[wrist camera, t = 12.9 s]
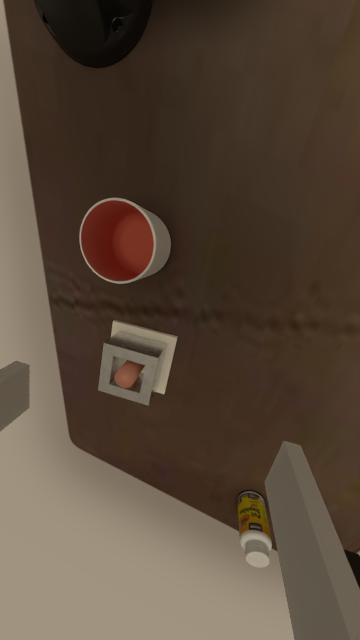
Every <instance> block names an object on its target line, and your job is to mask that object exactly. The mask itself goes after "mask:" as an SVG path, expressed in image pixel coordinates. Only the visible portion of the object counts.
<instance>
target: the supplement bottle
mask: <svg viewBox="0 0 360 640" xmlns="http://www.w3.org/2000/svg"><path fill="white" fill-rule="evenodd" d="M238 516H239V532H240V542H241V545H242V547H243V548H244V549H245V554H246V560H247V562H248V563H249V564H251V565H253V566H255V567H265V566H267V565H268V564H269V562H270V559H269V551H270V550H271V547H272V543H271V537H270V531H269V525H268V519H267V513H266V507H265V502H264V499H263V498H262V496H261V495H259V494H258V493H256V492H253V491H246V492H243V493H241V494H240V495H239V497H238Z"/></svg>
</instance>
